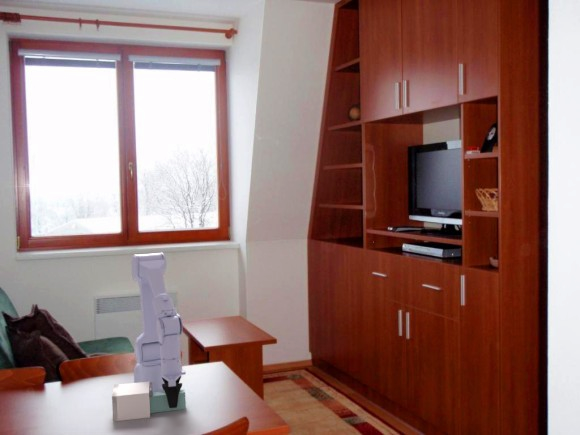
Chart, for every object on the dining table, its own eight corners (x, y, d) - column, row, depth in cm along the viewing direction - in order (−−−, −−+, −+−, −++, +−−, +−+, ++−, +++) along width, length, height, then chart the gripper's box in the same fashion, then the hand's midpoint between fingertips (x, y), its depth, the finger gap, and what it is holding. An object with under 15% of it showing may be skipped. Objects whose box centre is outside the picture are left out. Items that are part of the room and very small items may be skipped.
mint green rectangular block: (129, 416, 180) (128, 398, 180) (129, 412, 183) (128, 395, 183) (185, 409, 184) (185, 392, 184) (185, 406, 187) (184, 389, 187)
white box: (113, 421, 176) (111, 396, 176) (115, 408, 187) (114, 384, 187) (153, 417, 178) (152, 392, 178) (153, 404, 189) (152, 381, 189)
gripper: (185, 362, 178) (187, 410, 178) (183, 350, 192) (185, 394, 193) (160, 365, 176) (162, 413, 177) (160, 352, 191) (162, 396, 191)
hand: (172, 403), depth 185 cm, fingers open, 6 cm apart
